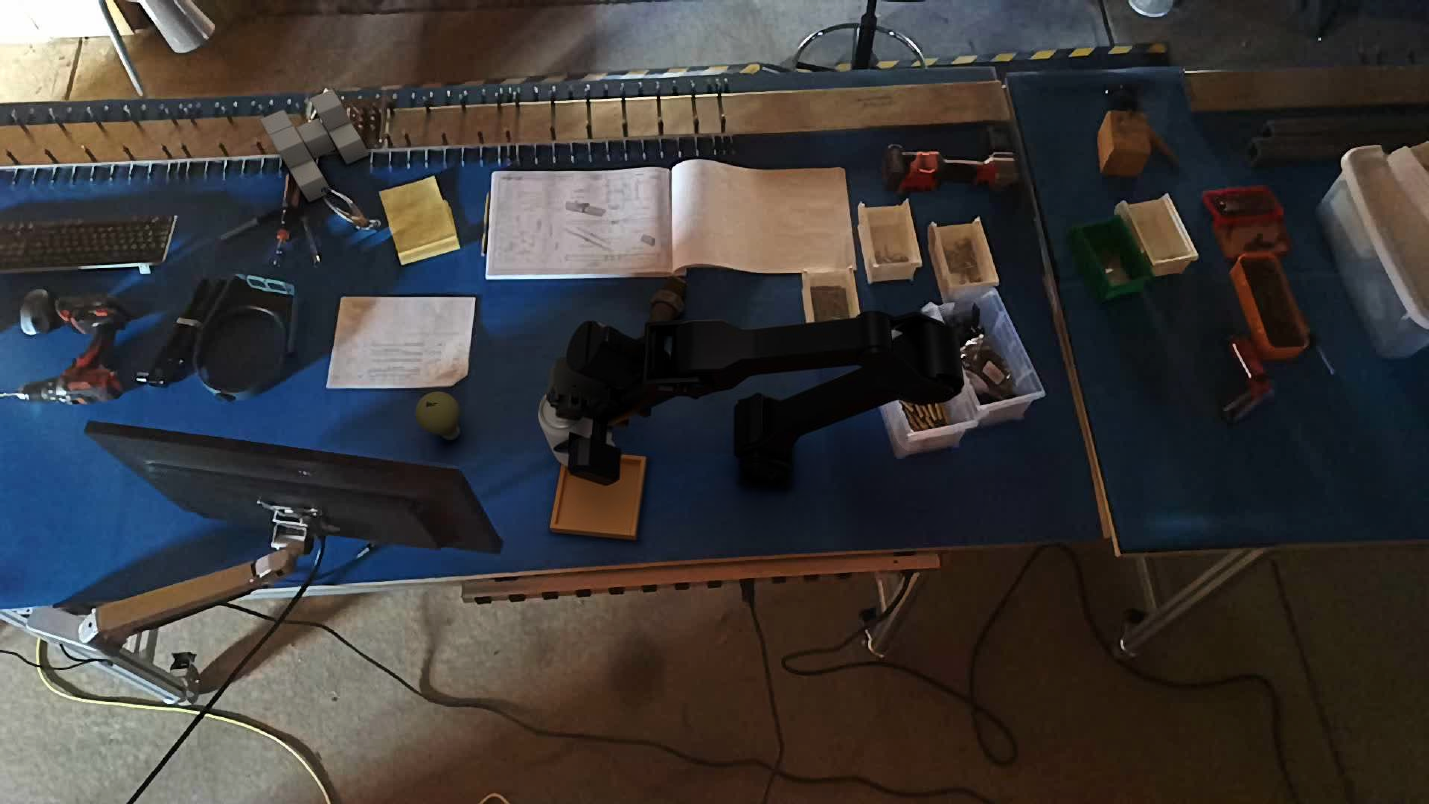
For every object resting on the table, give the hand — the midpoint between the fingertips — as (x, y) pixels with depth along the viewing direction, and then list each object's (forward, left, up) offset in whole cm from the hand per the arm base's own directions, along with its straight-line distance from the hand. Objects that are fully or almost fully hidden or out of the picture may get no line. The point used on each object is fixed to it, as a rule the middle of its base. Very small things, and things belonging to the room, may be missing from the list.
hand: (558, 425), depth 108 cm
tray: (-5, +5, -11) cm, 13 cm away
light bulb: (+17, -2, -12) cm, 21 cm away
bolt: (-10, -22, -12) cm, 27 cm away
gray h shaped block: (+48, -48, -12) cm, 69 cm away
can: (-1, 0, -7) cm, 7 cm away
